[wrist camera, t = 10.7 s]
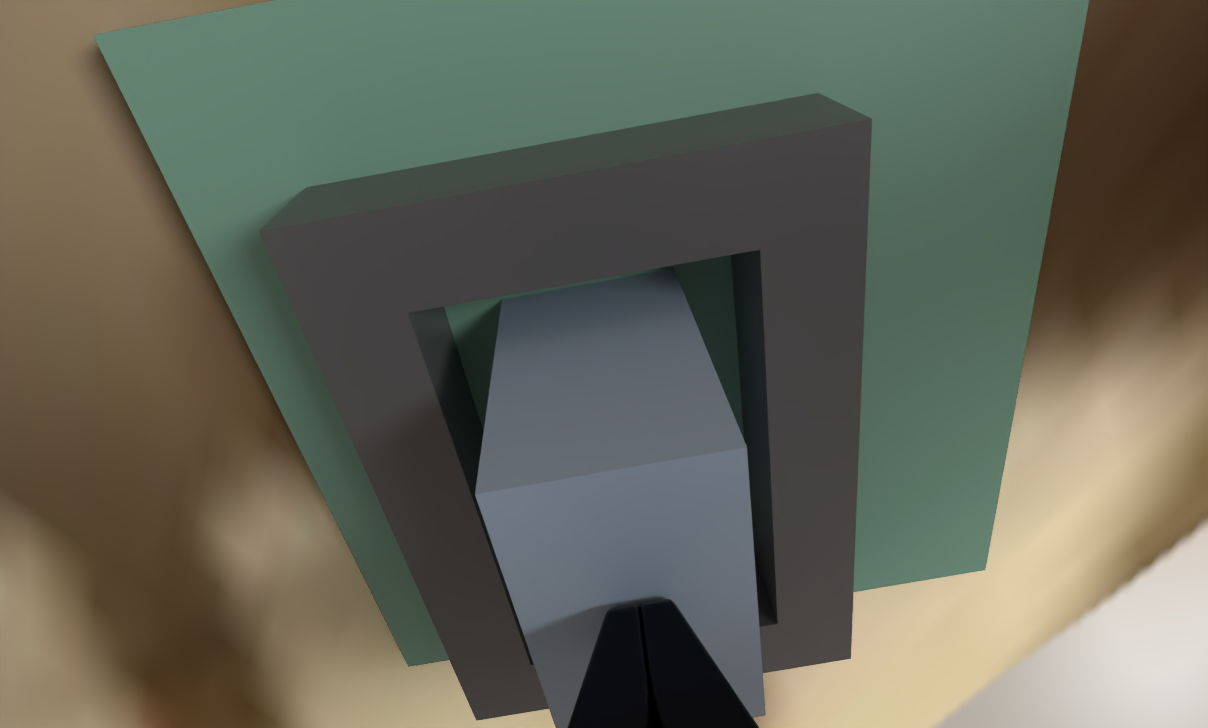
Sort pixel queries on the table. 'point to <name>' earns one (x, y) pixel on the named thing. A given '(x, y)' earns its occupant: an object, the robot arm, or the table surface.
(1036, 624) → the table surface
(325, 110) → the circuit board
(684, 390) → the plug
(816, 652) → the header socket
